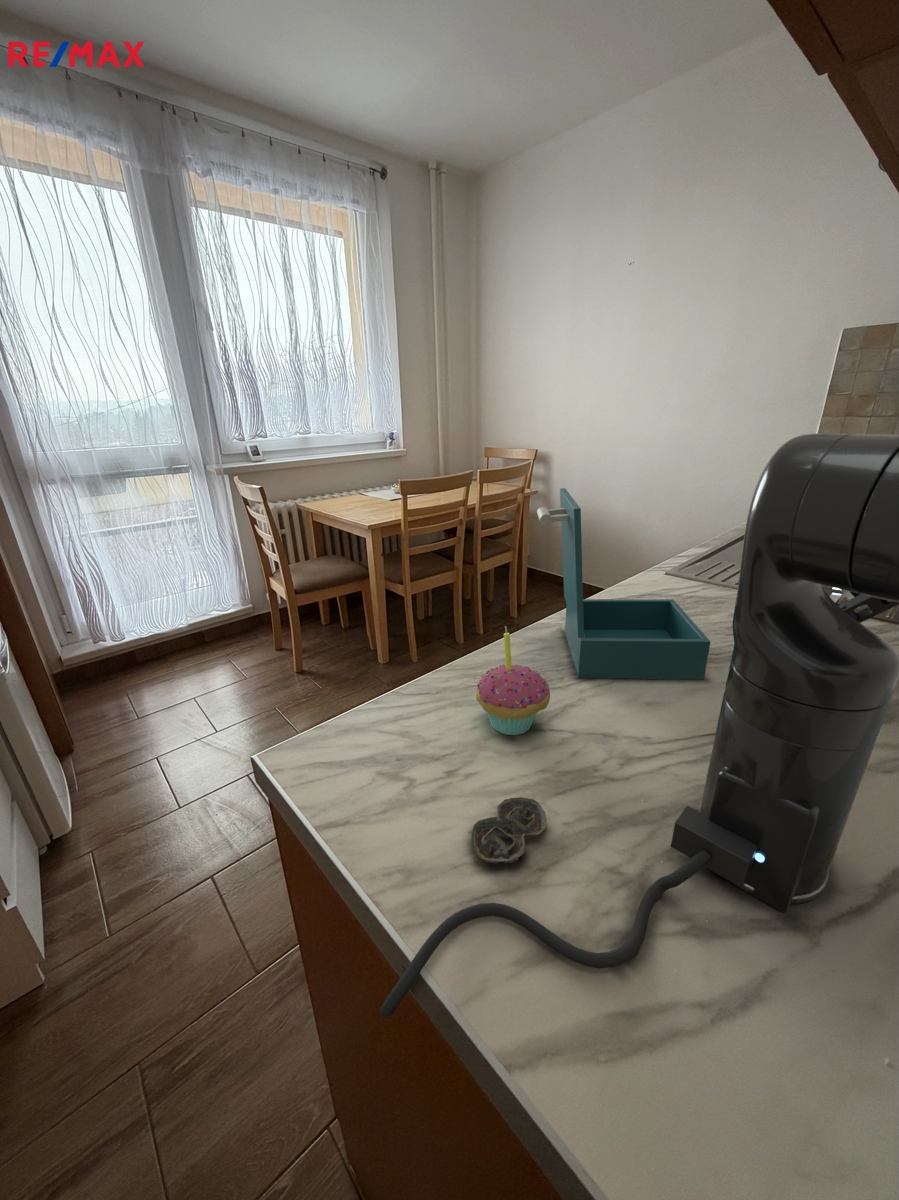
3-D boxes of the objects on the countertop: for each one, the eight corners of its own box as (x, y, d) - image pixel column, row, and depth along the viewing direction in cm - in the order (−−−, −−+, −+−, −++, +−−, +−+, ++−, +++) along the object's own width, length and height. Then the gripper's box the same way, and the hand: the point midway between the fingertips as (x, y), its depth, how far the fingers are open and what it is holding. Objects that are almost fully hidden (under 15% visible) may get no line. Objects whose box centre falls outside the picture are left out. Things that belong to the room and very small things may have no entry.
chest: (668, 632, 78) (673, 599, 76) (703, 679, 65) (710, 641, 63) (564, 631, 80) (566, 599, 78) (578, 677, 67) (580, 640, 64)
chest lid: (565, 487, 71) (533, 491, 72) (580, 508, 58) (541, 512, 58) (569, 596, 78) (540, 598, 78) (584, 637, 64) (549, 639, 65)
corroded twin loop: (558, 823, 44) (559, 815, 43) (503, 883, 39) (503, 873, 38) (514, 795, 47) (514, 787, 47) (457, 846, 42) (457, 838, 42)
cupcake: (466, 711, 60) (463, 625, 56) (527, 696, 63) (529, 612, 58) (494, 754, 53) (494, 658, 48) (562, 735, 55) (568, 642, 51)
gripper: (858, 492, 60) (738, 584, 66) (959, 518, 47) (798, 630, 53) (891, 533, 61) (771, 619, 67) (999, 569, 48) (838, 672, 54)
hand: (784, 623), depth 60 cm, fingers closed on chocolate bunny, 5 cm apart
